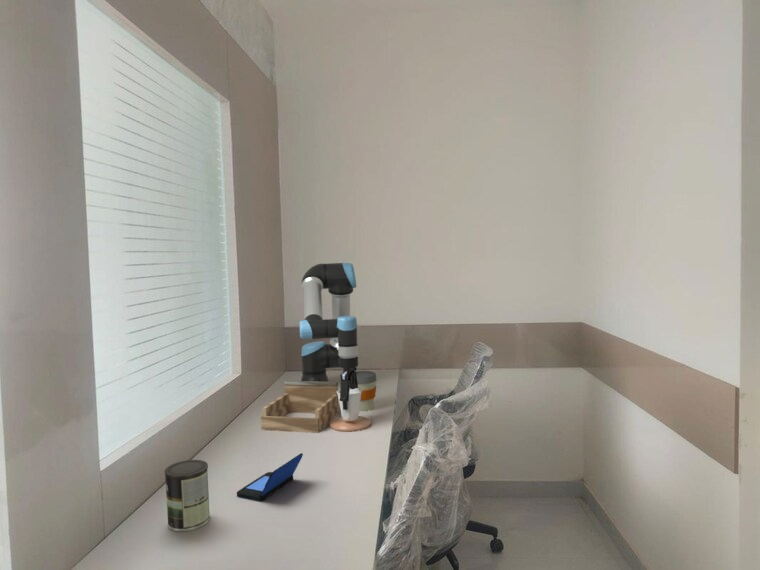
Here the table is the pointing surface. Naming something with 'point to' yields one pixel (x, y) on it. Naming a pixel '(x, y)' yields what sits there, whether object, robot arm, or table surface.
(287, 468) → the handheld game console
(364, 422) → the saucer
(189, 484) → the coffee can
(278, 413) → the frame
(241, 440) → the table surface
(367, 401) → the reusable coffee cup
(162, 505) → the table surface
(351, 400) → the cup
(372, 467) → the table surface
